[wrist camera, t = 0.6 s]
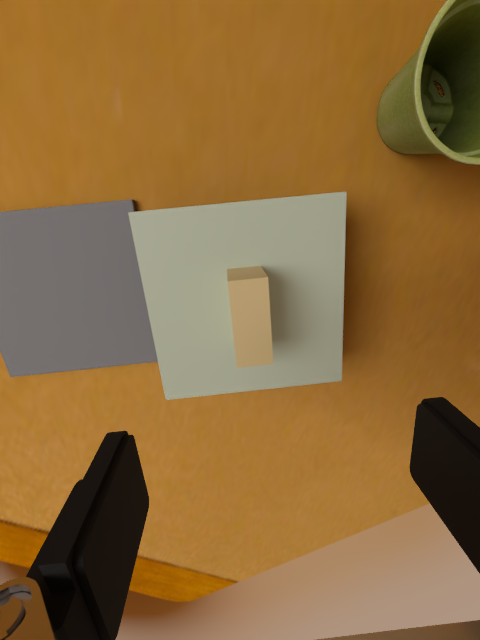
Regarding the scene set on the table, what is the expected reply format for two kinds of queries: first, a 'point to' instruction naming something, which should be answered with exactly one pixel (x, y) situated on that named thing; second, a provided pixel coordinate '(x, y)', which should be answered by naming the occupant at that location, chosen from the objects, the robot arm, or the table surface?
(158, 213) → the lid
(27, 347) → the felt mat
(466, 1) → the plant pot
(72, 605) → the robot arm
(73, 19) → the table surface
